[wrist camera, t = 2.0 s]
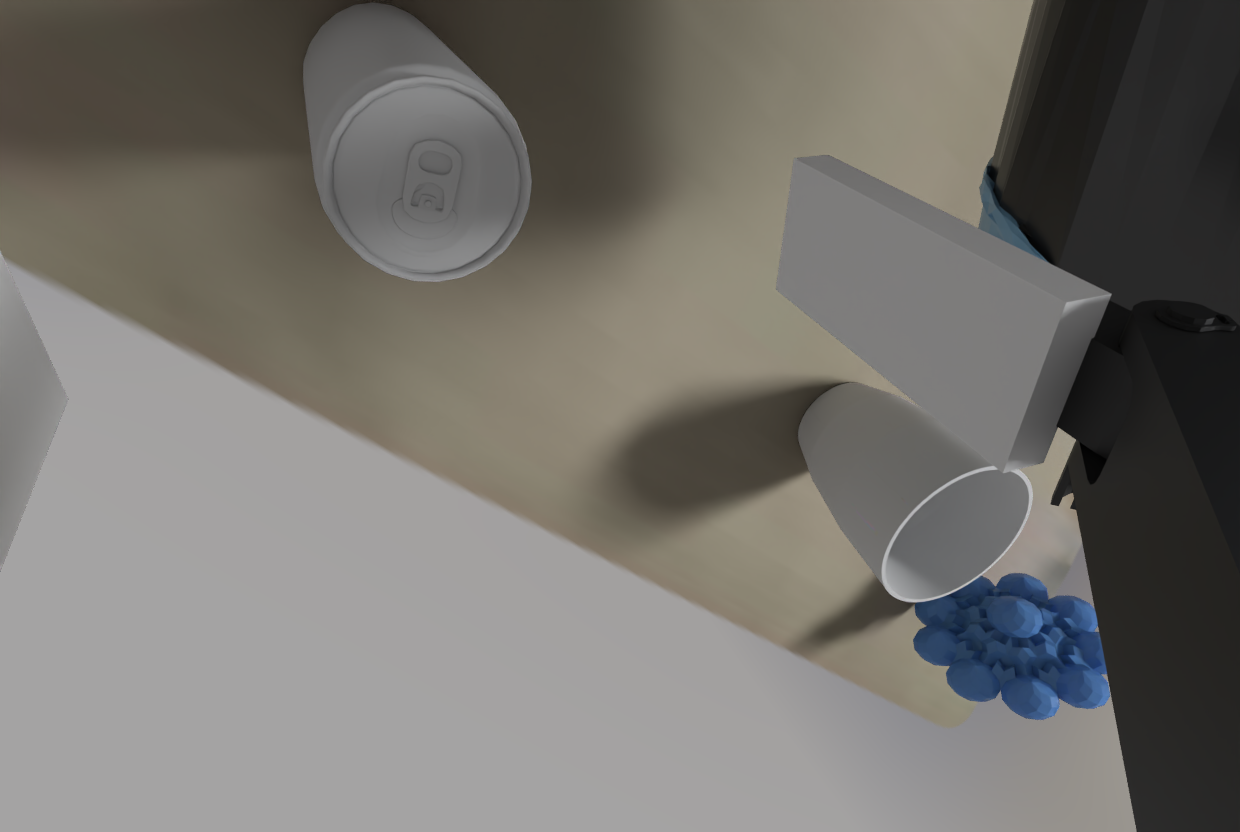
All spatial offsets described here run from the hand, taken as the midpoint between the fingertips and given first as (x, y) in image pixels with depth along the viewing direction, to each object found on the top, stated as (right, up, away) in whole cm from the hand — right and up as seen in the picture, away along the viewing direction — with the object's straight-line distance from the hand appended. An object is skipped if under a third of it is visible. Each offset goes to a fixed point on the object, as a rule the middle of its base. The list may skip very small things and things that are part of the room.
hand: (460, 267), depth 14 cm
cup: (+15, -3, +30) cm, 34 cm away
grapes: (+27, -14, +43) cm, 52 cm away
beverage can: (-6, +9, +13) cm, 17 cm away
